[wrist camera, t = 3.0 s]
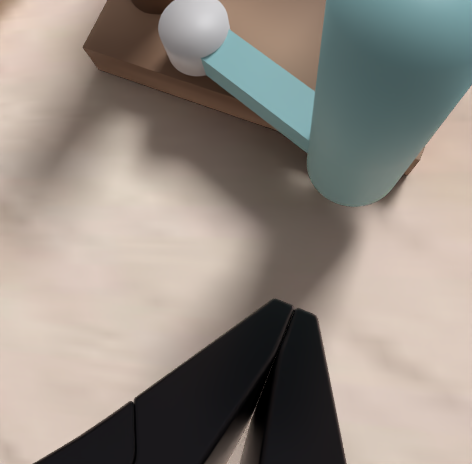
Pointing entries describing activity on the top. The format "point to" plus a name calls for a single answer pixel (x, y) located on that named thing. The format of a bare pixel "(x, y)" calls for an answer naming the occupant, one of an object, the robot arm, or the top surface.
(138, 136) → the top surface
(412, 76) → the hinged leg
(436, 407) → the top surface
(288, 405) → the robot arm
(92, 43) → the brown peg stand
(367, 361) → the top surface
